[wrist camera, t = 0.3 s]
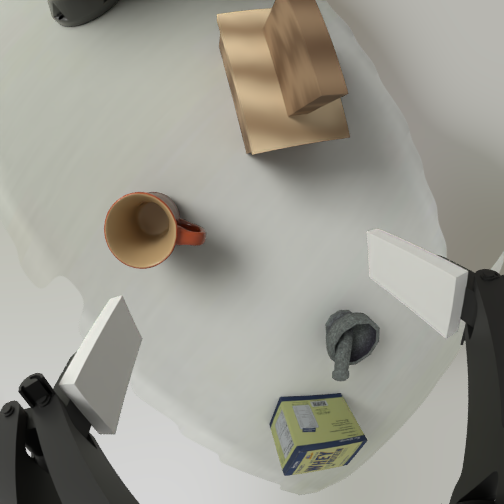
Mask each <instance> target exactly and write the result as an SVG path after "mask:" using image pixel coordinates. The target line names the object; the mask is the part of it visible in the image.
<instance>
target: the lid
mask: <svg viewBox="0 0 504 504" xmlns="http://www.w3.org/2000/svg"><path fill="white" fill-rule="evenodd" d="M217 23H218V26H219V30H220V33H221V37H222V41H223V44H224V48H225V51H226V55H227V59H228V62H229V66H230V70H231V74H232V77H233V81H234V85H235V89H236V93H237V96H238V100H239V104H240V108H241V112H242V116H243V120H244V124H245V128H246V132H247V136H248V140H249V144H250V148H251V152H252V155H254V154H258V153H263V152H268V151H272V150H277V149H282V148H288V147H293V146H298V145H304V144H310V143H316V142H322V141H329V140H335V139H343V138H349V137H350V135H349V130H348V126H347V122H346V117H345V113H344V109H343V105H342V102H341V97H343V96H345V95H347V94H348V91H347V87H346V84H345V80H344V77H343V74H342V70H341V67H340V64H339V61H338V58H337V55H336V52H335V49H334V46H333V44H332V41H331V38H330V35H329V33H328V30H327V27H326V25H325V22H324V20H323V17H322V15H321V13H320V10H319V8H318V6H317V3H316V1H315V0H275V3H274V5H273V7H272V8H269V9H255V10H245V11H237V12H229V13H222V14H217Z"/></svg>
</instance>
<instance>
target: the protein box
mask: <svg viewBox="0 0 504 504" xmlns="http://www.w3.org/2000/svg"><path fill="white" fill-rule="evenodd" d="M270 428H271V431H272V435H273V438H274V442H275V445H276V449H277V453H278V456H279V460H280V463H281V467H282V470H283V473H284V476H287V475H295V474H302V473H308V472H314V471H319V470H325V469H330V468H334V467H339V466H344V465H348V463H349V462H350V461H351V460H352V459H353V457H354V456H355V455H356V454H357V453H358V451H359V450H360V449H361V448H362V447H363V445H364V444H365V443H366V442H367V439H366V437H365V435H364V433H363V432H362V430H361V428H360V426H359V425H358V423H357V421H356V419H355V418H354V416H353V414H352V412H351V411H350V409H349V407H348V405H347V404H346V402H345V400H344V398H343V397H342V395H341V393H338V394H327V395H313V396H293V397H280V399H279V401H278V404H277V406H276V409H275V412H274V414H273V417H272V419H271V422H270Z"/></svg>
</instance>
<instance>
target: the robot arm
mask: <svg viewBox="0 0 504 504" xmlns="http://www.w3.org/2000/svg"><path fill="white" fill-rule="evenodd" d="M118 1H119V0H48V4H49V8H50V11H51V15H52V17H53V18H54V19H55V20H56V21H57V22H58V23H59V24H60V25H63V26H69V27H70V26H77V25H81V24H84V23H87V22H89V21H91V20H93V19H95V18H97V17H99V16H100V15H102V14H103V13H105V12H106V11H108V10H109V9H110V8H111V7H113V6H114V5H115V4H116V3H117V2H118ZM366 233H367V246H368V261H369V278H371V279H372V280H373V281H375V282H376V283H377V284H378V285H380V286H381V287H382V288H384V289H385V290H386V291H388V292H389V293H390V294H391V295H393V296H394V297H395V298H396V299H398V300H399V301H400V302H402V303H403V304H404V305H405V306H407V307H408V308H409V309H410V310H412V311H413V312H414V313H415V314H417V315H418V316H419V317H420V318H421V319H423V320H424V321H425V322H426V323H428V324H429V325H430V326H431V327H432V328H434V329H435V330H436V331H437V332H438V333H439V334H441V335H442V336H443V337H444V338H445V339H447V338H448V337H450V336H451V335H453V334H454V333H456V332H458V328H459V324H460V319H462V320H463V321H464V322H466V324H465V329H464V333H463V336H462V340H461V345H463V343H464V341H466V351H467V364H468V398H469V400H468V402H469V403H468V425H467V438H466V448H465V455H464V463H463V469H462V473H461V476H460V478H459V480H458V482H457V484H456V486H455V488H454V491H453V493H452V496H451V500H450V503H449V504H504V275H502V276H501V275H500V274H499V273H497V272H496V271H493V270H489V269H482V270H479V271H477V272H476V273H474V272H472V271H470V270H468V269H466V268H464V267H462V266H460V265H459V264H455V263H454V262H453V261H449V260H448V259H447V258H444V257H442V256H439V255H435V254H433V253H431V252H429V251H427V250H425V249H423V248H421V247H419V246H416V245H414V244H412V243H410V242H408V241H406V240H403V239H401V238H399V237H397V236H394V235H392V234H390V233H388V232H385V231H383V230H381V229H378V228H377V229H373V230H370V231H366ZM141 341H142V337H141V335H140V333H139V331H138V329H137V327H136V325H135V322H134V320H133V318H132V316H131V314H130V312H129V309H128V307H127V305H126V303H125V300H124V298H123V296H118V297H114V298H110V300H109V301H108V303H107V304H106V306H105V307H104V309H103V310H102V312H101V313H100V315H99V316H98V318H97V320H96V321H95V323H94V324H93V326H92V327H91V329H90V331H89V332H88V334H87V336H86V337H85V339H84V341H83V342H82V344H81V346H80V347H79V349H78V351H77V352H76V353H75V354H74V355H73V356H72V357H71V358H70V359H69V361H68V363H67V366H66V367H65V368H64V370H63V372H62V374H61V375H60V377H59V379H58V381H57V383H56V384H55V386H54V389H52V387H51V386H50V385H49V383H48V382H47V380H46V379H45V377H44V376H43V375H42V374H40V373H35V374H33V375H30V376H29V377H27V378H26V379H25V380H24V381H23V382H22V383H21V385H20V387H19V393H20V394H21V396H22V397H23V398H24V399H25V401H26V402H27V403H28V404H29V406H30V407H31V408H27V409H23V408H22V407H21V405H20V404H19V403H18V402H17V401H10V402H9V403H6V404H5V405H4V406H3V408H2V409H1V411H0V504H139V503H138V501H137V500H136V499H135V498H134V496H133V495H132V494H131V492H130V491H129V490H128V488H127V487H126V486H125V484H124V483H123V482H122V481H121V479H120V477H119V476H118V475H117V474H116V472H115V470H114V469H113V467H112V466H111V464H110V463H109V461H108V460H107V458H106V456H105V455H104V453H103V452H102V450H101V448H100V447H99V445H98V443H97V442H96V440H95V438H94V437H93V436H92V435H91V434H90V433H89V430H90V427H91V425H92V426H93V427H94V429H95V430H96V431H97V432H98V433H99V434H115V433H116V429H117V425H118V421H119V417H120V413H121V409H122V405H123V402H124V398H125V394H126V391H127V387H128V384H129V380H130V377H131V373H132V370H133V367H134V364H135V360H136V357H137V354H138V351H139V348H140V345H141ZM25 447H26V448H27V449H28V450H29V451H30V452H31V457H30V456H29V455H28V454H27V452H26V448H25Z"/></svg>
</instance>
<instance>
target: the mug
mask: <svg viewBox="0 0 504 504" xmlns="http://www.w3.org/2000/svg"><path fill="white" fill-rule="evenodd" d="M104 233H105V239H106V242H107V245H108V247H109V249H110V251H111V252H112V253H113V255H114V256H115V257H116V258H117V259H118V260H119V261H121V262H122V263H124V264H125V265H128V266H130V267H133V268H139V269H145V268H151V267H154V266H156V265H158V264H160V263H162V262H163V261H164V260H166V259H167V258H168V257H169V256H170V254H171V253H172V252H173V250H174V247H175V245H194V246H199V245H202V244H204V242H205V240H206V231H205V229H204V228H202V227H201V226H198V225H196V224H193V223H190V222H189V221H187V220H185V219H182V218H180V214H179V210H178V208H177V206H176V204H175V203H174V201H173V200H172V199H171V198H169V197H168V196H166V195H164V194H162V193H158V192H149V193H144V192H135V193H130V194H127V195H125V196H123V197H121V198H120V199H118V200H117V201H116V202H115V203H114V204H113V205H112V207H111V208H110V210H109V211H108V214H107V216H106V219H105V225H104Z"/></svg>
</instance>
